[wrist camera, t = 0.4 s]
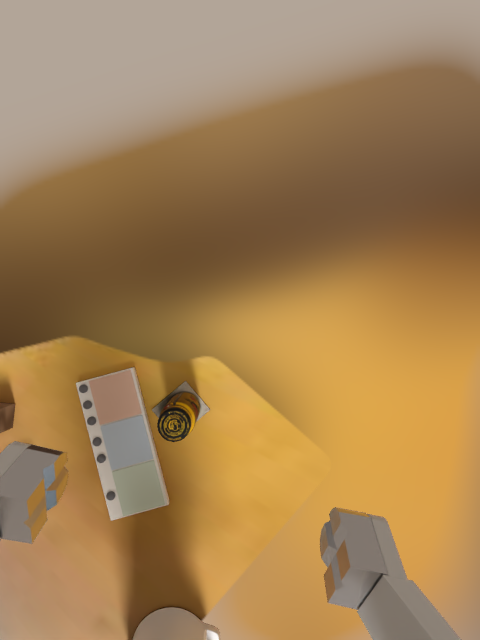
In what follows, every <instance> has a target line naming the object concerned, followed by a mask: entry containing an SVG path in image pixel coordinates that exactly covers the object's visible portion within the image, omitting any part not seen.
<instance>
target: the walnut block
mask: <svg viewBox="0 0 480 640" xmlns="http://www.w3.org/2000/svg"><path fill="white" fill-rule="evenodd" d="M14 411H15V404H12V403H0V433H1V432H4V431H6V430H8V429H10V428H13V420H14Z"/></svg>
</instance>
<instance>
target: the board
mask: <svg viewBox="0 0 480 640" xmlns="http://www.w3.org/2000/svg"><path fill="white" fill-rule="evenodd" d="M76 386H77V390H78V394H79V398H80V402H81V406H82V410H83V414H84V417H85V421H86V425H87V429H88V433H89V437H90V441H91V445H92V449H93V453H94V457H95V461H96V464H97V468H98V472H99V476H100V480H101V484H102V488H103V492H104V496H105V500H106V504H107V508H108V511H109V515H110V519H111V521H112V520H116V519H119V518H123V517H126V516H130V515H134V514H137V513H141V512H144V511H148V510H151V509H155V508H159V507H162V506H166V505H168V504H169V502H170V501H169V497H168V493H167V489H166V485H165V481H164V478H163V474H162V470H161V466H160V462H159V458H158V455H157V451H156V447H155V443H154V439H153V435H152V431H151V428H150V424H149V420H148V416H147V412H146V408H145V404H144V401H143V397H142V393H141V389H140V385H139V381H138V378H137V374H136V370H135V367H133V368H129V369H125V370H122V371H118V372H114V373H110V374H107V375H103V376H99V377H96V378H92V379H88V380H84V381H81V382H77V383H76Z"/></svg>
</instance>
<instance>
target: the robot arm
mask: <svg viewBox="0 0 480 640" xmlns="http://www.w3.org/2000/svg"><path fill="white" fill-rule="evenodd" d="M67 461H68V456H67V453H66V452H62V451H57V450H53V449H48V448H44V447H40V446H35V445H31V444H27V443H22V442H17V441H14V442H13V443H11V444H9V445H8V446H7V447H6V448H5V449H4V450H3V451H2V452H1V453H0V538H1V539H7V540H13V541H19V542H25V543H31V544H32V543H33V542H34V540H35V539H36V537H37V536H38V534H39V532H40V531H41V529H42V528H43V526H44V524H45V523H46V521H47V510H49V509H51V508H52V507H54V506H55V505H57V503H58V502H59V500H60V498H61V497H62V495H63V493H64V490H65V488H66V485H67V482H68V470H67V469H66V468H65V464H66V463H67ZM329 515H330V521H329V522H327V523H325V524H324V526H323V528H322V531H321V537H320V551H321V558H322V560H323V561H324V563H325V564H326V566H327V567H328V568H327V570H326V572H325V574H324V580H325V587H326V594H327V600H328V603H331V604H335V605H340V606H344V607H348V608H352V609H357V610H358V611H357V612H358V614H359V616H360V618H361V619H362V621H363V623H364V625H365V626H366V628H367V630H368V632H369V634H370V635H371V637H372V639H373V640H461V639H460V637H459V636H458V635H457V634H456V633H455V631H454V630H453V629H452V628H451V627H450V625H449V624H448V623H447V622H446V620H445V619H444V618H443V617H442V616H441V614H440V613H439V612H438V611H437V610H436V608H435V607H434V606H433V605H432V603H431V602H430V601H429V600H428V599H427V597H426V596H425V595H424V594H423V593H422V591H421V590H420V589H419V588H418V587H417V585H416V584H415V583H414V582H413V581H412V580H408V579H407V576H406V574H405V571H404V568H403V565H402V562H401V559H400V557H399V553H398V550H397V548H396V545H395V542H394V539H393V536H392V533H391V531H390V528H389V525H388V522H387V521H386V519H385V518H384V517H381V516H375V515H370V514H366V513H363V512H357V511H352V510H347V509H341V508H336V507H335V508H333V509H332V510H331V512H330V514H329ZM1 539H0V540H1ZM133 640H220V632H219V630H218V628H216V627H215V626H212V625H209V624H206V623H204V622H202V621H201V620H200V619H199V618H197V617H196V616H195V615H194V614H192V613H191V612H189V611H187V610H184V609H181V608H174V607H169V608H163V609H159V610H157V611H154V612H152V613H151V614H149V615H148V616H147V617H145V618H144V619H143V620H142V622H141V623H140V624H139V626H138V627H137V629H136V631H135V634H134V637H133Z"/></svg>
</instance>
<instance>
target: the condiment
mask: <svg viewBox="0 0 480 640" xmlns="http://www.w3.org/2000/svg"><path fill="white" fill-rule="evenodd" d="M209 410H210V409H209V408H208V407H207V405H206V404H205V403H204V402H203V401H202V399H201V398H200V397H199V396H198V395H197V394H196V392H195V391H194V390H193V389H192V388H191V387H190V385H189V384H188V383H187V382H186V381H185V382H184V383H182V384H181V385H180V386H179V387H178V388H177V389H175V390H174V391H173V392H172V393H171V394H170V395H168V396H167V397H166V398H165V399H164V400H163V401H161V402H160V403H159V404H158V405H157V406H156V407H154V408H153V409H152V411H153V412H154V413H155V414H156V415H157V416H158V418H159V419H158V423H157V424H158V426H157V427H158V431H159V433H160V435H161V436H162V437H163V438H164V439H166V440H167V441H171V442H175V441H180V440H182V439H184V438H185V437H186V436H187V435H188V434H189V433H190V432H191V431H192V429H193V428H194V426H195V423H196V421H198V420H199V419H200V418H201V417H202V416H203V415H205V414H206V413H207V412H208V411H209Z"/></svg>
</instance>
